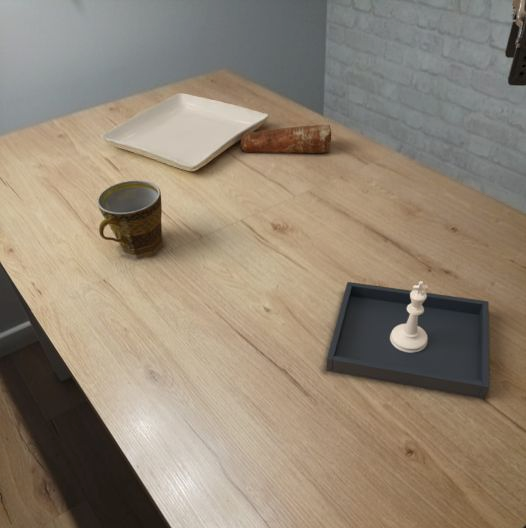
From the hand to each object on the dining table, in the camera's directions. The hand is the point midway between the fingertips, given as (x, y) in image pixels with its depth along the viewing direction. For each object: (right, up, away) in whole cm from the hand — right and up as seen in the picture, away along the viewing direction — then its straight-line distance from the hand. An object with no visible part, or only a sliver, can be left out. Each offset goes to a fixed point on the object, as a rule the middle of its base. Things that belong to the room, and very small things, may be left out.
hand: (515, 69), depth 60 cm
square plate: (-46, +14, +56) cm, 74 cm away
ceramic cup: (-51, -16, +28) cm, 60 cm away
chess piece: (-10, -32, +10) cm, 34 cm away
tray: (-10, -32, +10) cm, 35 cm away
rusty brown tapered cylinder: (-25, +9, +49) cm, 56 cm away
